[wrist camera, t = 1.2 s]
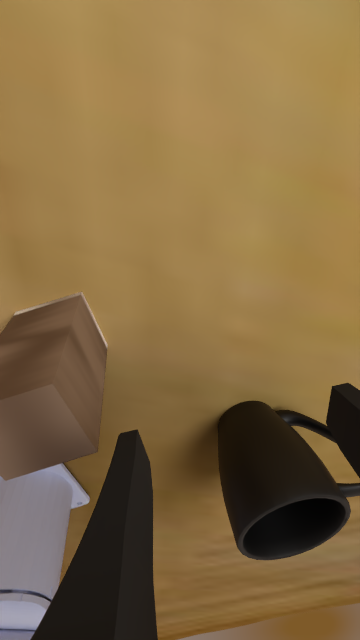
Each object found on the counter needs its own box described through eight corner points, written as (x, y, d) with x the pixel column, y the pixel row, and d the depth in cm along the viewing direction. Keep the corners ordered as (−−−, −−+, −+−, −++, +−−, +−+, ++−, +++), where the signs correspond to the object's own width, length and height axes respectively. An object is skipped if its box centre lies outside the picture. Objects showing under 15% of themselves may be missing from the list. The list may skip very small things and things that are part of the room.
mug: (324, 421, 30) (399, 520, 22) (214, 459, 30) (248, 572, 22) (321, 363, 26) (412, 459, 18) (193, 407, 26) (225, 523, 18)
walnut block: (48, 363, 21) (5, 480, 14) (16, 311, 19) (-59, 418, 11) (107, 345, 21) (97, 451, 14) (81, 291, 19) (52, 383, 11)
